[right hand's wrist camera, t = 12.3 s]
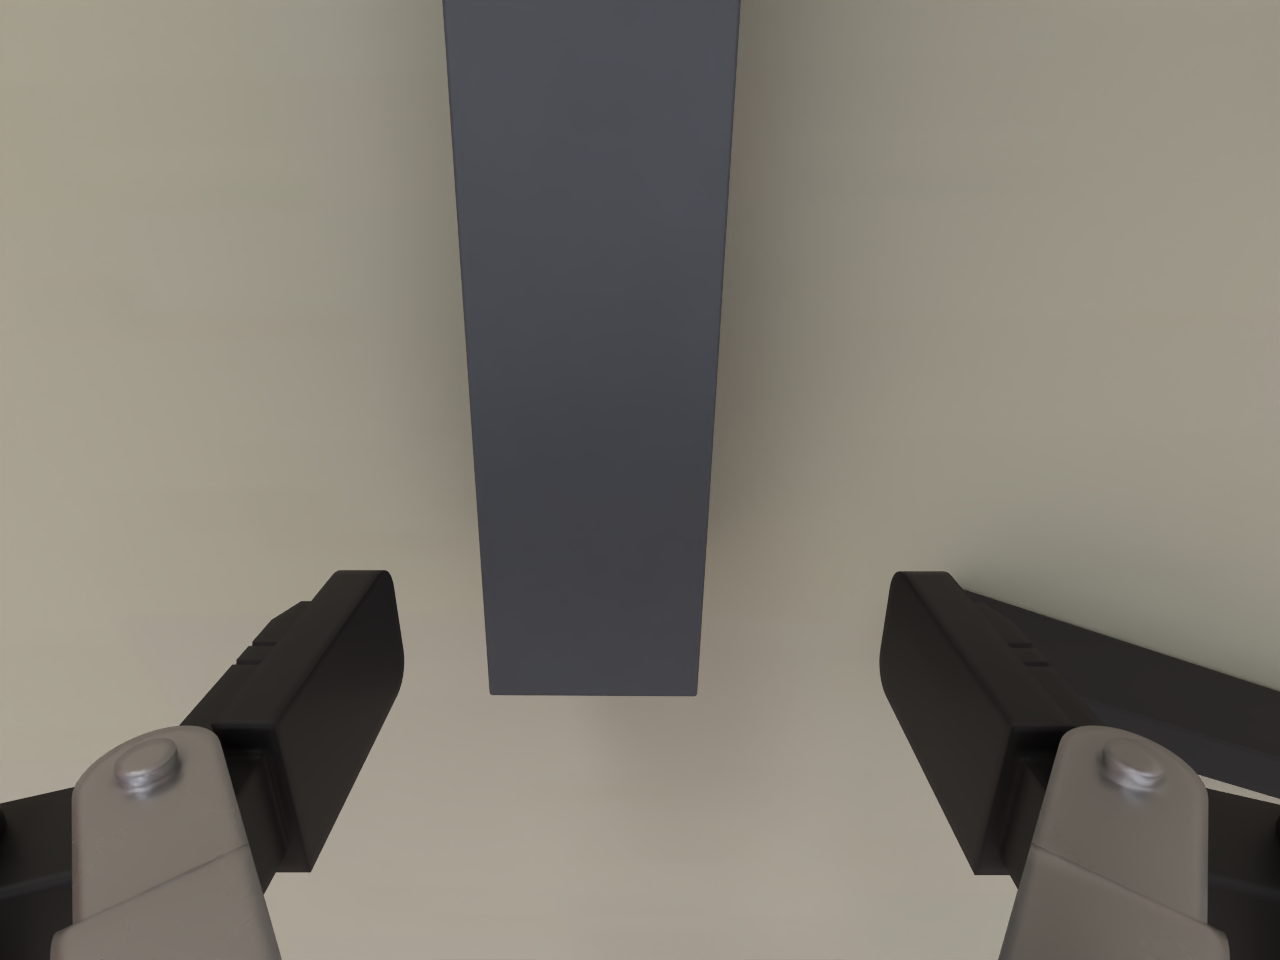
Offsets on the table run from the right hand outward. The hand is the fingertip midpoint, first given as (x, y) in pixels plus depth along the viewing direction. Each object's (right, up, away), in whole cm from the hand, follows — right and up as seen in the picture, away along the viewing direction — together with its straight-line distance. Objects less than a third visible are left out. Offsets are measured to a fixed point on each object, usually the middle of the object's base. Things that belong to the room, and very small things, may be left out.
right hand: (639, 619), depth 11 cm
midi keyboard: (+18, -4, +13) cm, 22 cm away
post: (0, +34, -3) cm, 34 cm away
